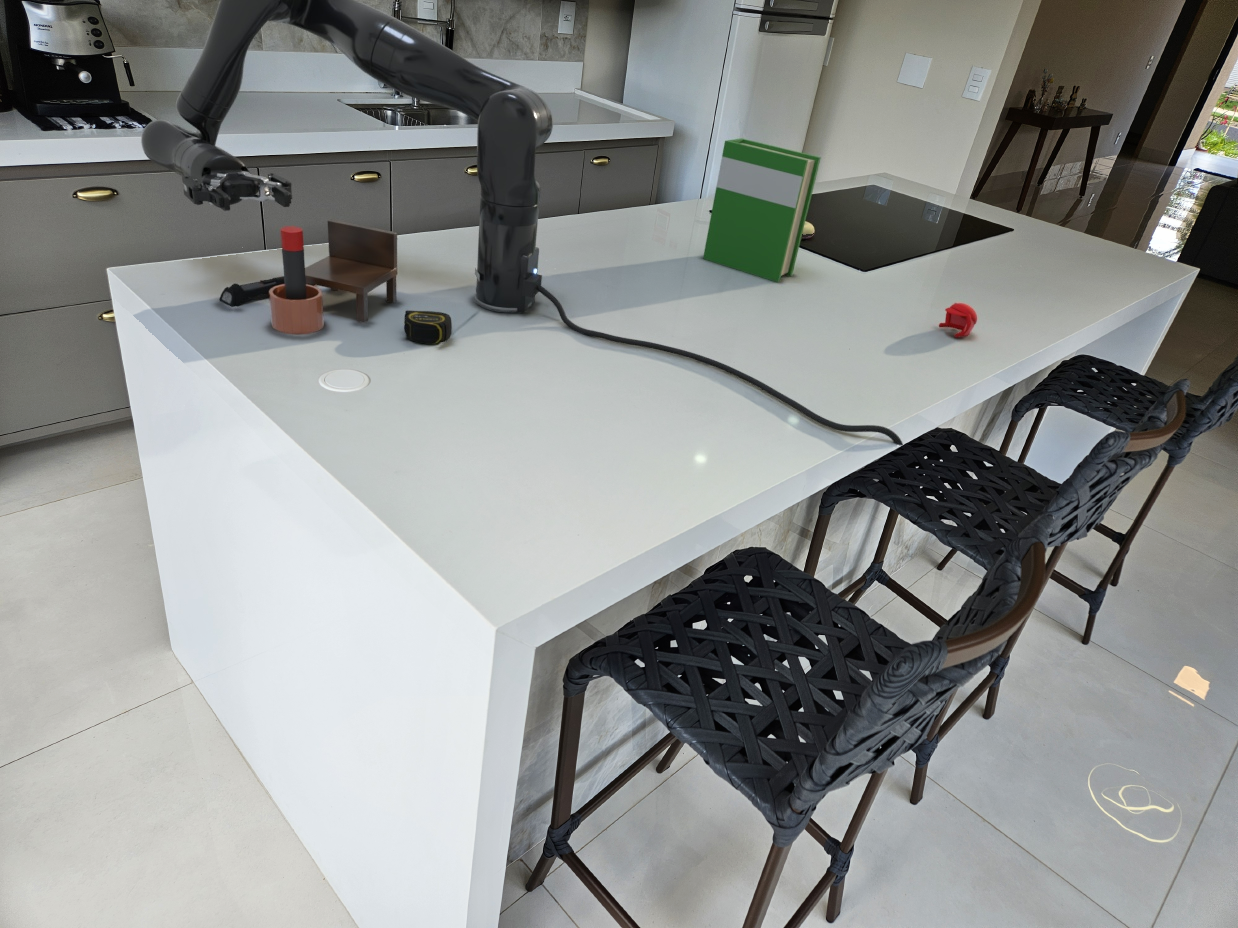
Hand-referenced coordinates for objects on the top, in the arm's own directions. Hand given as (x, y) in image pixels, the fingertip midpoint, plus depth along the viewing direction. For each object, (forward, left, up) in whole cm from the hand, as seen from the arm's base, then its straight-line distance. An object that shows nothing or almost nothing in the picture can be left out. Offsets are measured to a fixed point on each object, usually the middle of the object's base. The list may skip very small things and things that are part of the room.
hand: (258, 202), depth 120 cm
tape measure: (-26, 0, -15) cm, 30 cm away
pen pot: (-9, +6, -15) cm, 19 cm away
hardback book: (-68, -69, -15) cm, 98 cm away
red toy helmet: (-109, -52, -15) cm, 122 cm away
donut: (-76, -104, -15) cm, 129 cm away
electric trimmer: (+1, -2, -15) cm, 16 cm away
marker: (-9, +6, -15) cm, 18 cm away
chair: (-11, -5, -15) cm, 19 cm away
